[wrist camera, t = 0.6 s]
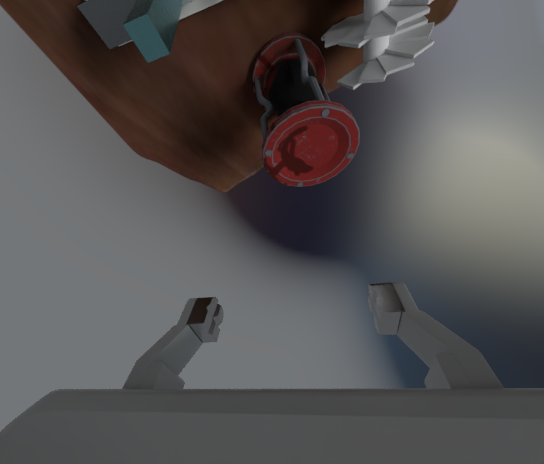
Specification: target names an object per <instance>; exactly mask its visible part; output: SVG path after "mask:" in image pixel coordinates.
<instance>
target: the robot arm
mask: <svg viewBox="0 0 544 464" xmlns="http://www.w3.org/2000/svg"><path fill="white" fill-rule="evenodd" d="M369 292H370V293H369V294H368V304H369V308H370V311H371V313H372V315H374V324H375V327H376V330H377V332H378V335H385V334H386V335H391V334H397V336H398V337H399V338H400V339H401V340H402V341H403V342H404V343H405V344H406V345H407V346H409V347H410V349H411V350H412V351H413V352H414V353H416V354H417V356H418V357H419V358H420V359H421V360H422V361H423V362H425V364H426V365H427V366H429V368H430V370H429V372H428V375H427V377H426V379H425V381H424V382H425V384H426V387H427V389H183V387H184V384H185V383H184V381H183V380H182V379H181V378H180V377H179V376H178V375H179V373H180V372H181V371H182V369H183V368H184V367H185V365H186V364H187V363H188V362H189V361H190V359H191V358H192V357H193V355H194V354H195V353H196V351H197V350H198V349H199V347H200V346H201V345H202V343H203V342H217V338H218V335H219V331H220V329H219V327H218V326H219V325H220V324H221V323H222V320H223V309H222V307H221V305H219V304H217V303H218V300H217V298H216V297H208V298H193V299H189V300H188V301H187V303H186V305H185V308H184V310H183V312H182V315H181V317H180V319H179V321H178V323H177V325H175V326H173V327H172V328H171V329H170V330H169V331H168V332H167V333H166V334H165V335H164V336H163V337H162V338H161V339H160V340H158V341H157V342H156V343H155V344H154V345H153V346H152V347H151V348H150V349H149V350H148V351H147V352H146V353H145V354H144V355H143V356H141V357H140V358H139V359H138V360H137V361H136V363H135V365H134V367H133V369H132V371H131V373H130V375H129V377H128V379H127V381H126V382H125V384H124V386H123V388H122V389H59V390H55V391H52V392H50V393H49V394H47V395H46V396H44V397H43V398H41V399H40V400H39V401H37V402H36V403H35V404H33V405H32V406H31V407H29V408H28V409H27V410H26V411H25V412H23V413H22V414H21V415H19V416H18V417H17V418H15V419H14V420H13V421H12V422H11V423H9V424H8V425H7V426H6V427H5V428H4V429H3V430H2V431H1V432H0V464H544V388H533V389H532V388H527V389H526V388H522V389H521V388H518V389H517V388H512V389H510V388H507V389H505V388H503V386H502V385H501V383H500V382H499V380H498V379H497V377H496V376H495V374H494V373H493V371H492V370H491V368H490V367H489V365H488V364H487V362H486V360H485V359H484V357H483V356H482V354H481V353H480V351H478V350H477V349H475V348H474V347H472V346H471V345H470V344H468V343H467V342H465V341H464V340H462V339H461V338H460V337H458V336H457V335H456V334H454V333H453V332H451V331H450V330H449V329H447V328H445V327H444V326H443V325H442V324H440V323H439V322H437V321H436V320H435V319H433V318H432V317H430V316H429V315H427V314H426V313H425V312H423V311H419V310H418V308H417V306H416V304H415V302H414V301H413V299H412V297H411V295H410V293H409V291H408V289H407V287H406V286H405V284H404V283H403V282H387V283H376V284H369Z"/></svg>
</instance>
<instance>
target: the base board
mask: <svg viewBox="0 0 544 464" xmlns="http://www.w3.org/2000/svg"><path fill="white" fill-rule="evenodd" d="M221 1H223V0H195V1H193V2H190V3H188V4H186V5H184V6H182V9H181V13H180V17H179V20H180V19H183V18H185V17H187V16H189V15H192V14H194V13H196V12H198V11H201V10H203V9H205V8H207V7H210V6H212V5H214V4H216V3H219V2H221ZM130 41H133V40H130ZM130 41H128V42H130ZM128 42H125V43H123V44H121V45H124V44H126V43H128ZM121 45H119V46H121Z"/></svg>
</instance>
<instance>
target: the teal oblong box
mask: <svg viewBox="0 0 544 464" xmlns="http://www.w3.org/2000/svg"><path fill="white" fill-rule="evenodd" d="M193 1H195V0H137V1H136V3H135V4H134V6H133V8H132V10H131V11H130V13H129V15H128V17H127V18H126V20H125V22H124V23H123V26H124V28H125V29H126V31H127V32H128V34H129V35H130V37H131V38H132V40H133V41H134V43H135V44H136V46H137V47H138V49H139V50H140V52H141V53H142V55H143V56H144V58H145V59H146V61H147V62H148V63H149V62H151V61H153V60H156V59H158V58H161V57H163V56H165V55H168V54H170V52H171V48H172V44H173V40H174V36H175V33H176V29H177V25H178V21H179V17H180V13H181V9H182V6H184V5H186V4H188V3H190V2H193Z"/></svg>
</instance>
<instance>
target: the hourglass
mask: <svg viewBox="0 0 544 464" xmlns="http://www.w3.org/2000/svg"><path fill="white" fill-rule="evenodd" d="M325 76H326V67H325V60H324V58H323V55H322V53H321V51H320V49H319V47H318V45H317V44H316V43H315V42H313V41H312V40H311V39H310V38H309V37H307V36H305V35H302V34H299V33H285V34H282V35H280V36H278V37H276V38H274V39H272V40H271V41H270V42H269V43H268V44H267V45H266V46H265V47H264V48H263V49H262V50H261V51H260V53H259V55H258V57H257V59H256V61H255V64H254V69H253V74H252V78H253V89H254V93H255V95H256V98H257V100H258V102H259V103H260V105H261V106H262V107H263V108H264V109H265V110H266V112H265V113H264V114H263V115H262V117H261V119H260V122H261V129H262V136H263V144H262V154H263V164H264V166H265V168H266V169H267V171H268V173H269V175H271V176H272V177H273V178H274V179H275V180H276V181H278V182H281V183H283V184H286V185H290V186H297V187H302V186H311V185H315V184H318V183H321V182H324V181H326V180H328V179H330V178H331V177H333V176H335V175H337V174H338V173H339V172H340V171H342V170H343V169H344V168H345V167H346V166H347V165H348V164H349V162H350V161H351V160H352V158H353V157H354V156H355V153H356V151H357V148H358V146H359V136H360V130H359V128H358V126H357V124H356V121H355V119H354V117H353V115H352V113H351V112H349V111H348V110H347V109H346V108H345V107H343V106H342V105H341V104H338V103H334V102H331V101H330V99H329V97H328V95H327V92H326V90H325V88H324V82H325ZM272 115H276V116H279V117H278V118H277V119H276V120H275V121H274V122H273V124H272V125H271V127H270V128H269V129H268V126H267V119H268V118H270V117H271V116H272Z"/></svg>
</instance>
